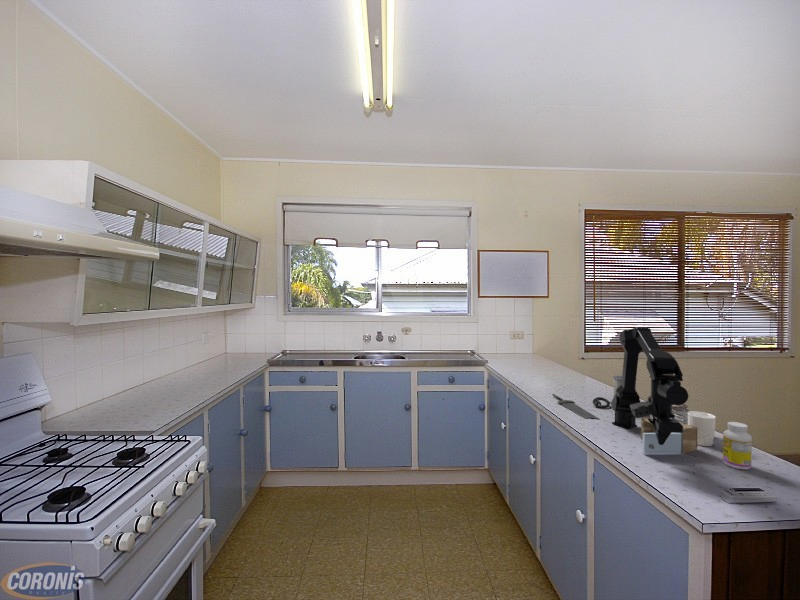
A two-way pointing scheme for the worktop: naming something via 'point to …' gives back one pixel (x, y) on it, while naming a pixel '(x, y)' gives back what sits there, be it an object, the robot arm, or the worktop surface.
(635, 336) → the robot arm
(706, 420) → the white cup
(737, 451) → the supplement bottle
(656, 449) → the door
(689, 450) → the cabinet
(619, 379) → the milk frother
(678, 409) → the french press
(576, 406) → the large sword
